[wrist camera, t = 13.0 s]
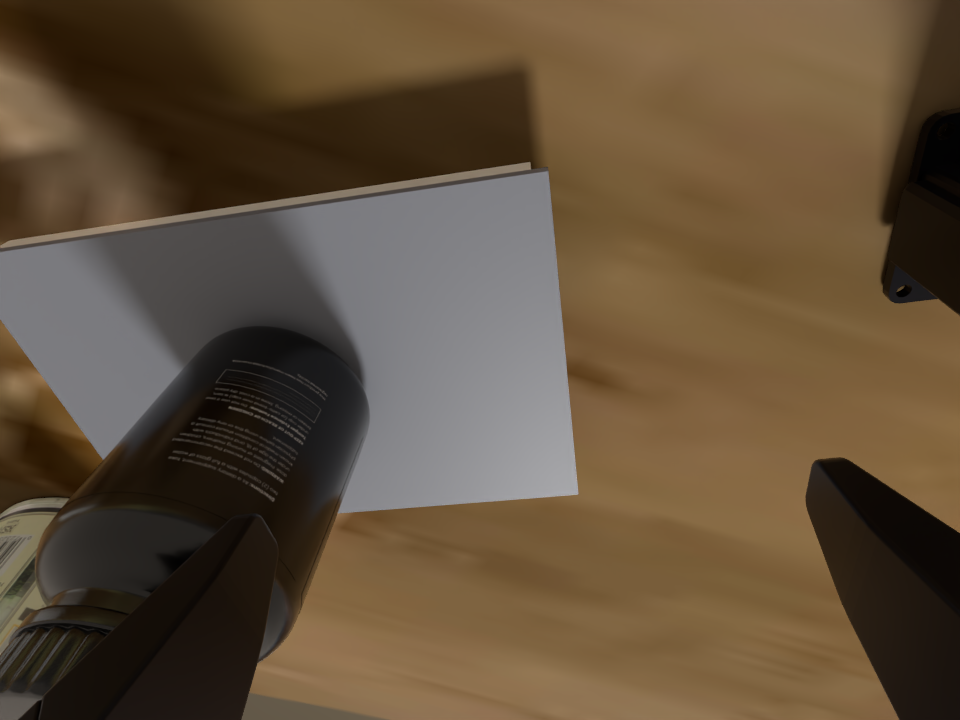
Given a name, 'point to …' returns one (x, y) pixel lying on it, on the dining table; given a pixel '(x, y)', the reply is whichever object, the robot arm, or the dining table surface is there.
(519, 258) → the book
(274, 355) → the supplement bottle
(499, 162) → the dining table surface
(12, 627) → the coffee can
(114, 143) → the dining table surface
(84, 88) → the dining table surface
